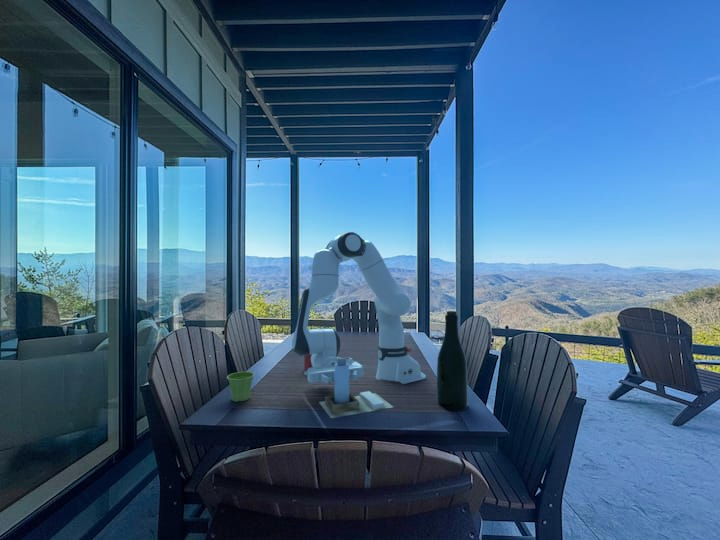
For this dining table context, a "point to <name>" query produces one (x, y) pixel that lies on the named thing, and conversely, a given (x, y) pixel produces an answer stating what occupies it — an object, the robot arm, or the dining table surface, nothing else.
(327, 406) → the jig
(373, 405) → the white rectangular bar
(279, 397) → the dining table surface
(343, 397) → the tapered blue cylinder
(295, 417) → the dining table surface
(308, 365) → the beer can
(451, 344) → the green wine bottle
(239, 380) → the plant pot
